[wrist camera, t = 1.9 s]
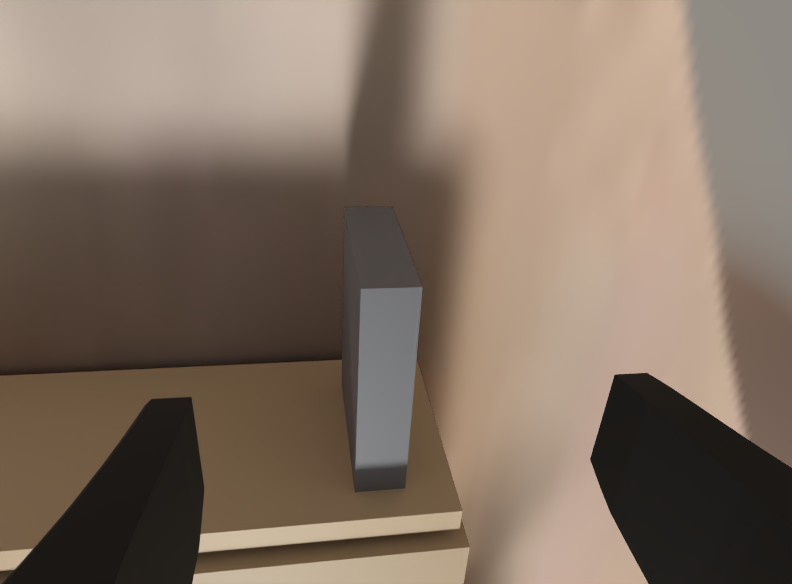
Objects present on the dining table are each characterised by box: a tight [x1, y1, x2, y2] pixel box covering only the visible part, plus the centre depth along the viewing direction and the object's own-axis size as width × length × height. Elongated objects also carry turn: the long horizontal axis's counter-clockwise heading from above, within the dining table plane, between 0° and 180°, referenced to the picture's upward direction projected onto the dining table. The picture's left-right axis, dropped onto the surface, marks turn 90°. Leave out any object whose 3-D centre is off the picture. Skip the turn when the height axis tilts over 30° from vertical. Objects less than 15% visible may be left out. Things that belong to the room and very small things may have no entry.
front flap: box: [0, 207, 462, 571], centre depth 14 cm, size 16×6×6 cm, turn 87°
